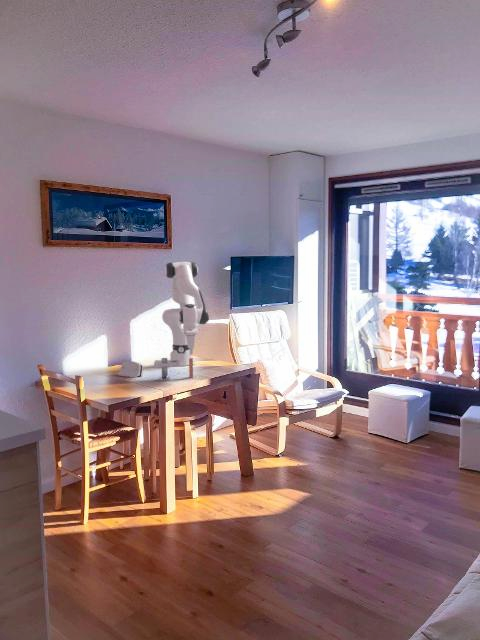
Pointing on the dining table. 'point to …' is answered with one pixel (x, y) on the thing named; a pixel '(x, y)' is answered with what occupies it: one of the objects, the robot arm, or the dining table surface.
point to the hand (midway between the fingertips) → (191, 353)
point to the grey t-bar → (165, 367)
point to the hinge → (131, 369)
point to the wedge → (190, 367)
